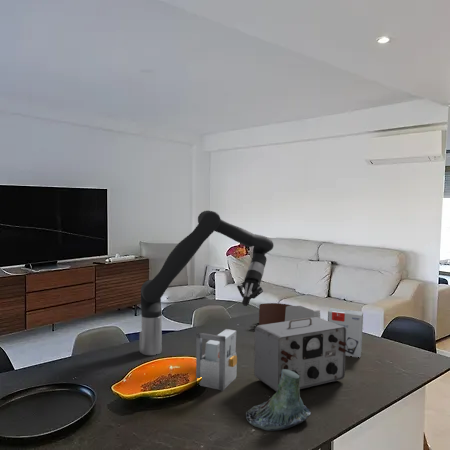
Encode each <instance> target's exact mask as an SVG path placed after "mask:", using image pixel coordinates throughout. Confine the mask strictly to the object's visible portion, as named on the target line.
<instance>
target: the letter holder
mask: <svg viewBox="0 0 450 450" xmlns="http://www.w3.org/2000/svg"><path fill="white" fill-rule="evenodd" d="M287 306H294V305H292V304H289V303H288V304H287V303H280V302H267V303H259V307H258V310H259V311H258V312H259V313H258V325H264V324H271V323H278V322H285V312H286V307H287Z"/></svg>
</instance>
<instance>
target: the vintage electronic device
mask: <svg viewBox="0 0 450 450" xmlns="http://www.w3.org/2000/svg"><path fill="white" fill-rule="evenodd" d="M345 352H346V328H345V327H343V326H340V325H337V324H335V323H332V322H329V321H328V319H324V318H322V317H320V318H319V317H313V318H310V317H309V318H302V319H295V320H291V321H285V322H278V323H271V324H264V325H259V324H258V325H257V326H255V327H254V367H253V368H254V370H253V371H254V372H253V374H254V377H255V378H256V379H258V380H259V381H260V382H261V383H263V384H265V385H266V386H268V387H269V388H270V389H272V390H274V391H275V393H276V392H277V390H278V385H279V382H280V379H281V374H282V370H283V369H287V370H291V371H293V372H295V373H297V374H298V375H299V378H300V385H299V390H302V389H307V388H310V387H311V388H312V387H315V386H320V385H323V384H328V383H331V382H332V383H337V382H338V381H340V380H344V378H345V377H346V376H345V375H346V356H345Z"/></svg>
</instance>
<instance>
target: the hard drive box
mask: <svg viewBox="0 0 450 450" xmlns="http://www.w3.org/2000/svg"><path fill="white" fill-rule="evenodd" d="M327 321H329V322H332V323H335V324H337V325H340V326H343V327H345V328H346V352H345V357H346V356H347V357H350V356H352V358H358V357H359V358H358V359H360V358H361V356H362V353H361V352H362V349H363V346H362V345H363V328H364V327H363V325H364V311H360V310H354V309H353V310H351V309H344V308H343V309H342V308H335V307H334V308H333V307H330V308H329V310H327Z"/></svg>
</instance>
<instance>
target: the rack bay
mask: <svg viewBox="0 0 450 450" xmlns="http://www.w3.org/2000/svg"><path fill="white" fill-rule="evenodd" d="M203 340H207V341H209V340H214V341H220V348H219V362H216V361H211V360H206V359H205V353H204V354H203ZM195 342H196V349H195V350H196V351H195V352H196V353H195V354H196V356H195V358H196V359H195V363H196V365H195V368H196V369H195V380H196V379H197V378H200V377H202V380H201V381H200V382H199V385H200V386H201V387H205V388H210V389H214V390H219V391H224V390H226V389H227V387H228V386H229V385H230V384H231V383H232V382H233V381H234V380H236V378H237V372H238V371H237V368H238V367H237V366H238V365H237V364H238V354H237V353H238V352H236V351H235V352H234V353H233V354H231V355H230V356H229V357H228V358H226V359H225V336H219V335H218V334H211V333H205V332H199V331H198V332H196V340H195ZM200 386H199V387H200Z"/></svg>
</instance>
